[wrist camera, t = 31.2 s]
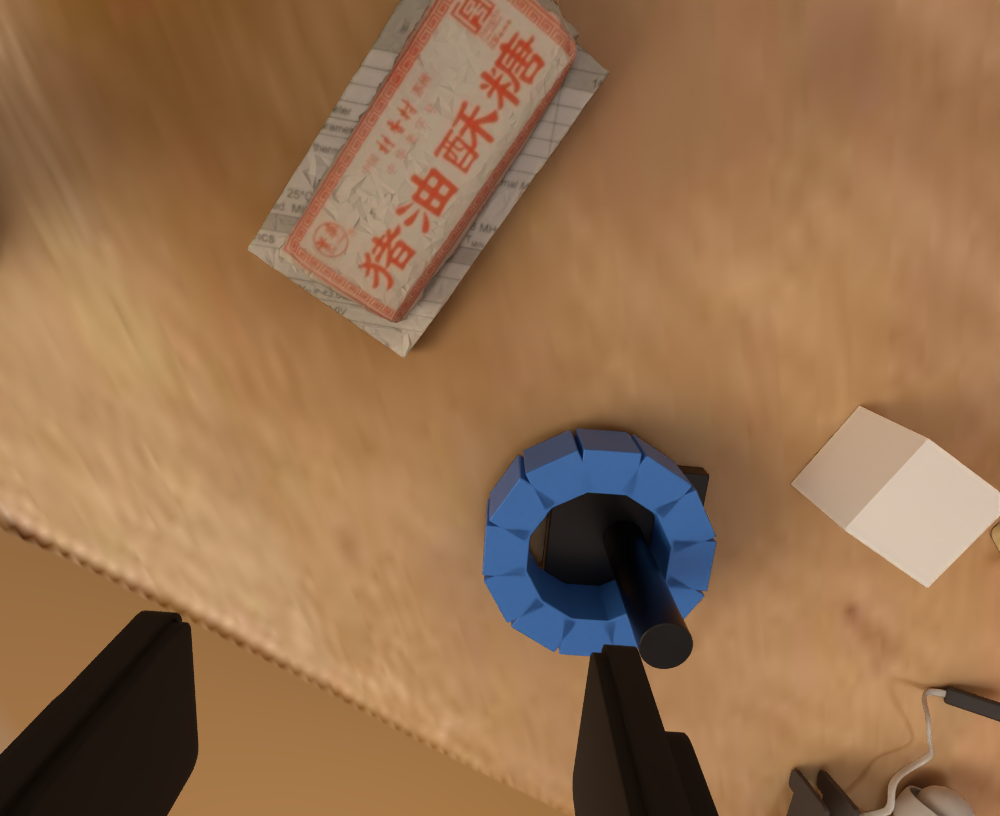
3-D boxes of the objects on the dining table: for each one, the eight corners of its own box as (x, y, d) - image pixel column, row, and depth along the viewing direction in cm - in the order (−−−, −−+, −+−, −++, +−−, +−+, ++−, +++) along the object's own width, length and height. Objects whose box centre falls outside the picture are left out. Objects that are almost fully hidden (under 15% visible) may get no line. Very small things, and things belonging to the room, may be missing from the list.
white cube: (858, 405, 36) (928, 437, 30) (932, 460, 36) (1014, 501, 31) (789, 484, 37) (843, 530, 31) (862, 535, 38) (927, 588, 32)
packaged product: (436, -117, 25) (626, 48, 26) (446, -61, 29) (607, 76, 31) (216, 252, 29) (392, 375, 30) (255, 249, 33) (406, 357, 35)
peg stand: (539, 587, 39) (554, 722, 28) (554, 455, 36) (577, 547, 26) (679, 598, 39) (746, 736, 28) (703, 467, 37) (787, 564, 26)
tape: (478, 611, 38) (476, 649, 34) (493, 421, 35) (492, 442, 31) (676, 624, 38) (693, 663, 35) (709, 437, 35) (732, 460, 31)
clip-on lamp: (855, 626, 43) (745, 852, 43) (918, 668, 37) (788, 932, 37) (1004, 695, 43) (893, 920, 44) (1092, 748, 37) (960, 1010, 37)
